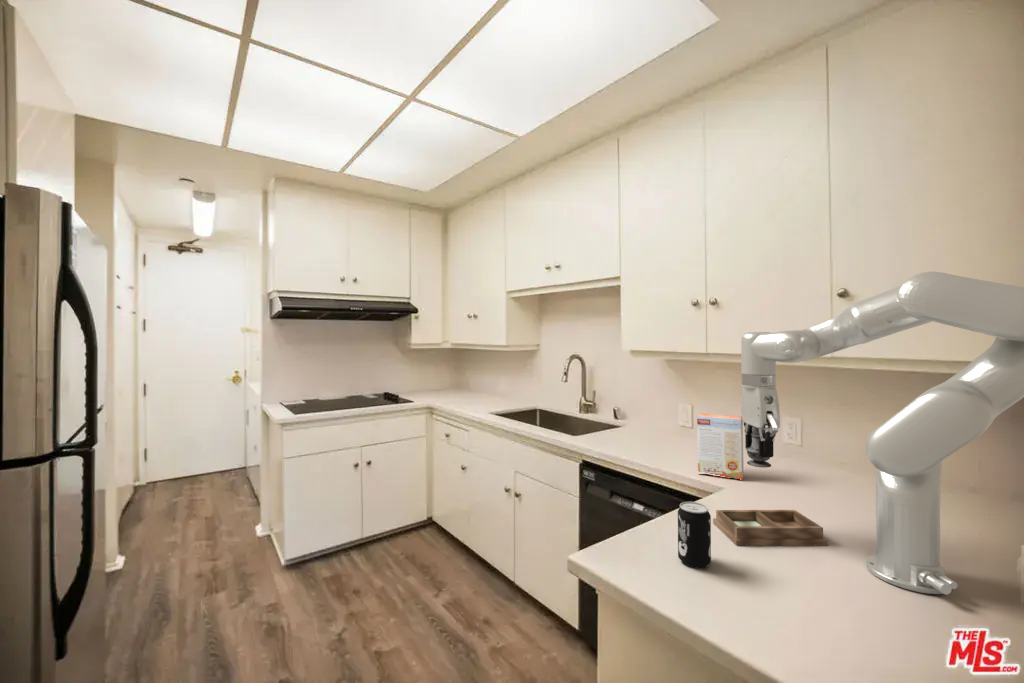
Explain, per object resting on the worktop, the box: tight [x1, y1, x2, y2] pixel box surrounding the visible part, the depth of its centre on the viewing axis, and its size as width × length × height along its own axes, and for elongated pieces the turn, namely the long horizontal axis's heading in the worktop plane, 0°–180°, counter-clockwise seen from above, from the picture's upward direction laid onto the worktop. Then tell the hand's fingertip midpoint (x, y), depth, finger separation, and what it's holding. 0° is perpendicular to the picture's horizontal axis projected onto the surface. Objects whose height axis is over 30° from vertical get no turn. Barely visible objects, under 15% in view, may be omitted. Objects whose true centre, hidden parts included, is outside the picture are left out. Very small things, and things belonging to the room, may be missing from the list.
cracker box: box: [696, 413, 744, 481], centre depth 149 cm, size 14×6×21 cm, turn 58°
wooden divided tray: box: [712, 509, 829, 546], centre depth 105 cm, size 21×12×4 cm, turn 89°
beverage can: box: [677, 501, 712, 569], centre depth 93 cm, size 7×7×12 cm
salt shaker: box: [745, 425, 772, 469], centre depth 107 cm, size 6×6×12 cm
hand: (758, 452), depth 107 cm, fingers closed on salt shaker, 5 cm apart
